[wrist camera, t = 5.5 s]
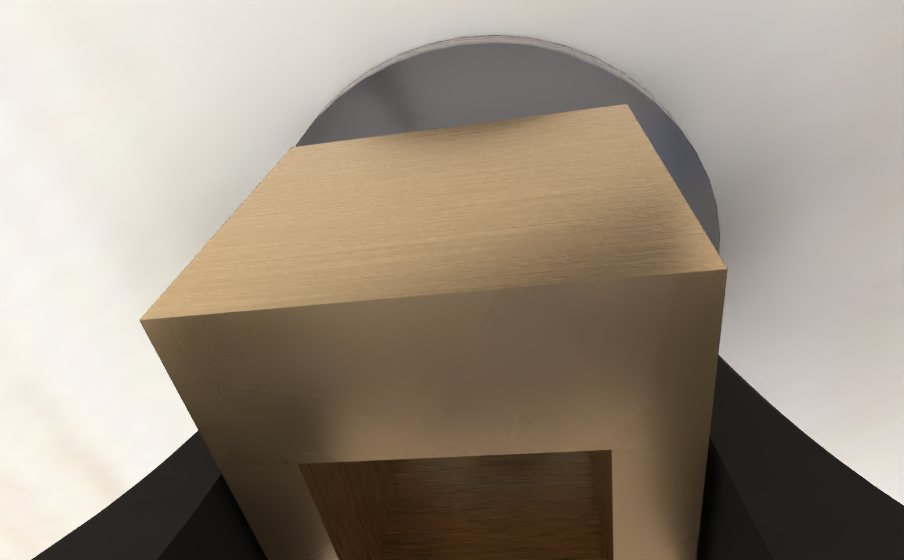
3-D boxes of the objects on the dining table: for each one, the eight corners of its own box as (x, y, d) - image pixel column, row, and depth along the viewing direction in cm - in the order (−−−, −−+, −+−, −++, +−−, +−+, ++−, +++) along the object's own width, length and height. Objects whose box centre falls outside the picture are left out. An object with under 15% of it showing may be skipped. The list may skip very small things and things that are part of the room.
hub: (787, 76, 11) (853, 119, 9) (633, 431, 17) (652, 510, 15) (272, -1, 11) (216, 24, 9) (287, 380, 17) (255, 452, 15)
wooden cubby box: (626, 103, 9) (727, 269, 5) (626, 451, 13) (681, 700, 9) (292, 147, 10) (139, 319, 6) (389, 462, 14) (340, 695, 10)
